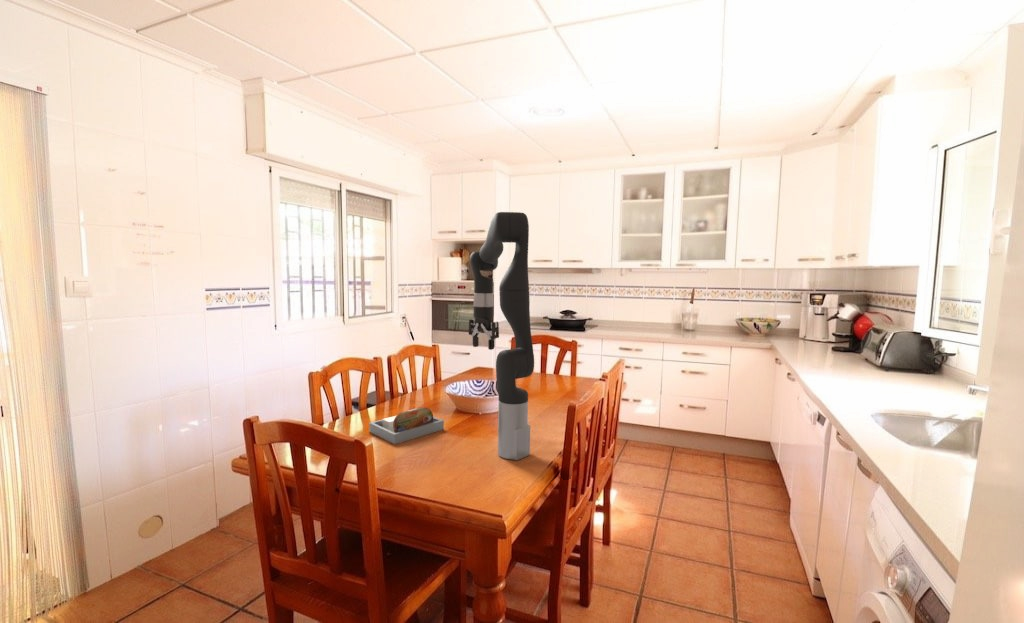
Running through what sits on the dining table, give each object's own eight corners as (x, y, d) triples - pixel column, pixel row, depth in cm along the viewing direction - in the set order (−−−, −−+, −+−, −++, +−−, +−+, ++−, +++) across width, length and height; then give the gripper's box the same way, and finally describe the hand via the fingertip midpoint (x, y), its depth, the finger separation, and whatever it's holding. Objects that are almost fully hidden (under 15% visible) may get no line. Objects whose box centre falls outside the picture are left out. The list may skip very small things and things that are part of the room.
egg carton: (418, 425, 166) (418, 414, 166) (389, 433, 158) (389, 422, 157) (411, 422, 169) (411, 411, 169) (382, 430, 161) (382, 419, 160)
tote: (443, 431, 163) (443, 420, 162) (394, 446, 148) (394, 434, 148) (417, 420, 173) (417, 410, 173) (369, 434, 159) (369, 422, 159)
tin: (396, 440, 152) (396, 415, 151) (391, 437, 154) (391, 413, 153) (433, 429, 162) (433, 405, 162) (428, 426, 165) (428, 404, 164)
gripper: (504, 305, 169) (503, 349, 170) (478, 303, 178) (477, 344, 180) (489, 306, 163) (489, 351, 165) (463, 304, 173) (463, 346, 174)
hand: (483, 348), depth 172 cm, fingers open, 8 cm apart
